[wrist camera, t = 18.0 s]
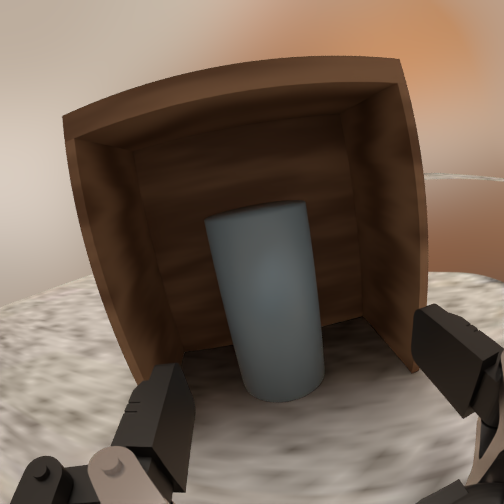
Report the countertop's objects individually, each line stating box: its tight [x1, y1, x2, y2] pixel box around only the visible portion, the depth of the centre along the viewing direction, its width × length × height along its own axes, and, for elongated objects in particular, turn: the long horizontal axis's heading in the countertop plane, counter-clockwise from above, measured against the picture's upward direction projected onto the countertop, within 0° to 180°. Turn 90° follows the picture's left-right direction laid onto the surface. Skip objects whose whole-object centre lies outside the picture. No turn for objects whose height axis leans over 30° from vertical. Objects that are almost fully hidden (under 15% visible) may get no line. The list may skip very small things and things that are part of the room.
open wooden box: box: [62, 56, 428, 385], centre depth 19 cm, size 10×18×20 cm, turn 94°
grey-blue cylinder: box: [204, 200, 325, 402], centre depth 19 cm, size 6×6×12 cm
